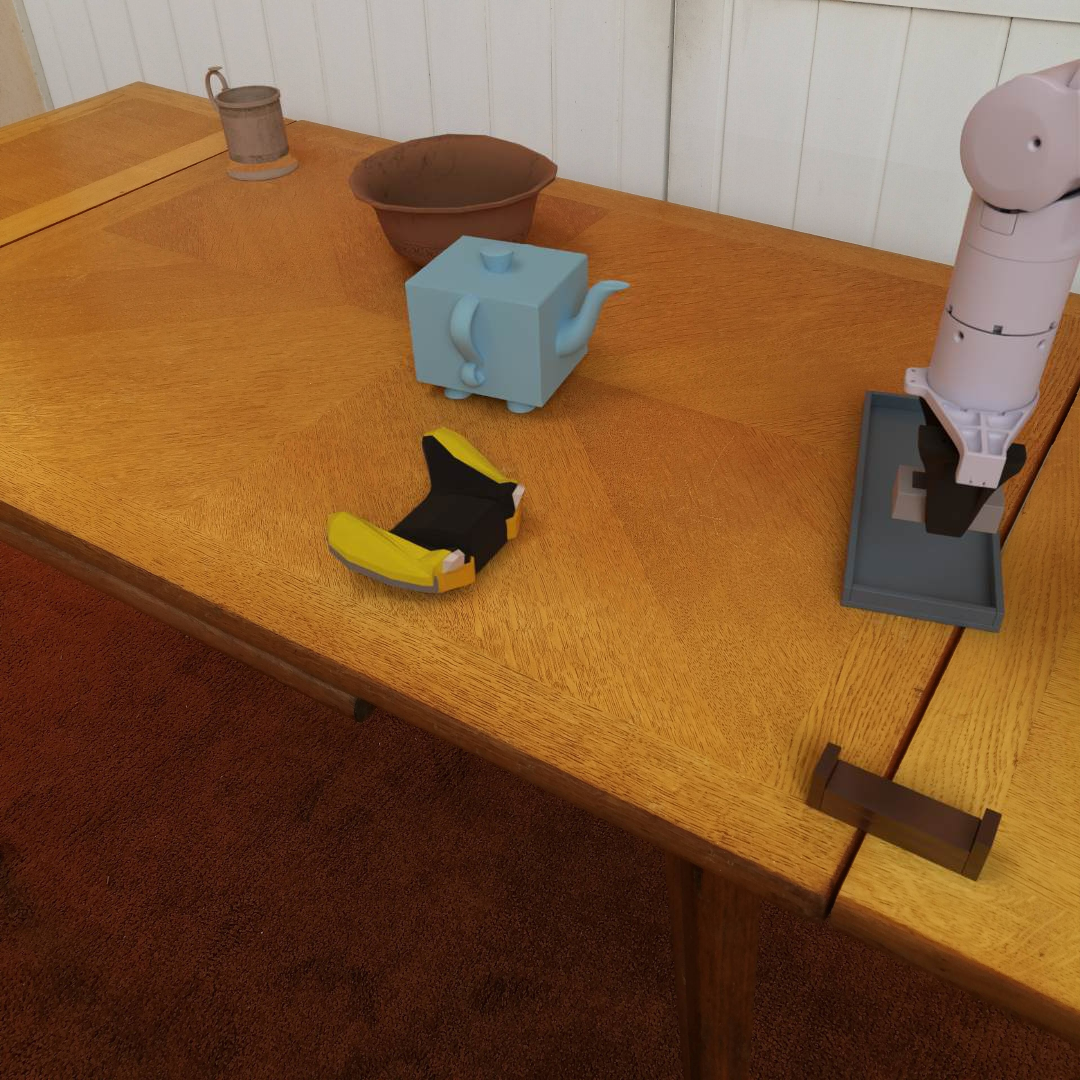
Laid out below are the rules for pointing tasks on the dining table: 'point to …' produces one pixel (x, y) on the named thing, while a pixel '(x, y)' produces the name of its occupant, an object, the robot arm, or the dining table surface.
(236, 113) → the mug
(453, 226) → the bowl
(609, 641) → the dining table surface
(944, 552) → the tray
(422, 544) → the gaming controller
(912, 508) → the grey block
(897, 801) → the brown drawer handle
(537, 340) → the teapot
